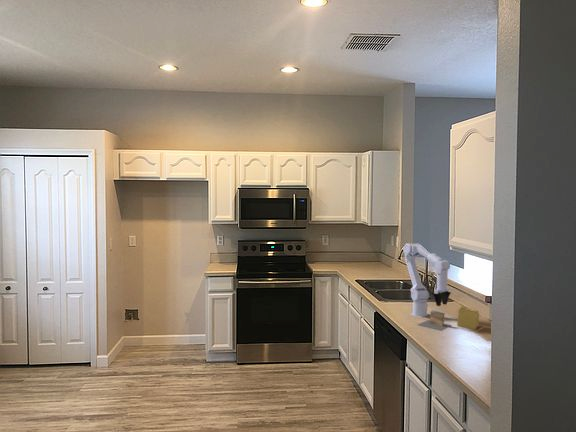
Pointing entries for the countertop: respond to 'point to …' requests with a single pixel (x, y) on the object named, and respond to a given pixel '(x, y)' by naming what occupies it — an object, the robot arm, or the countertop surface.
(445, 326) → the mat
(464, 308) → the cheese
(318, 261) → the countertop surface
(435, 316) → the tile
